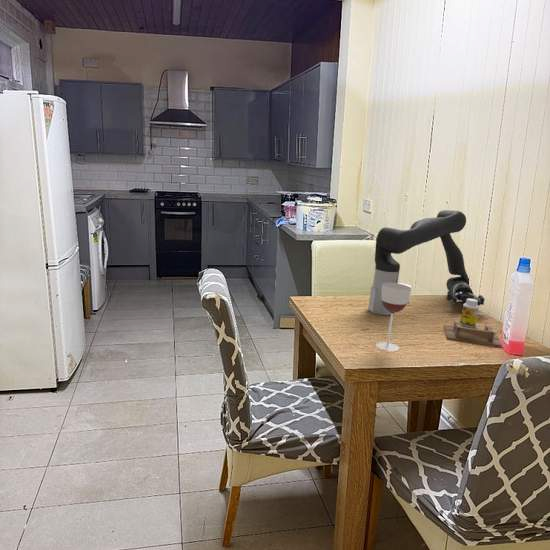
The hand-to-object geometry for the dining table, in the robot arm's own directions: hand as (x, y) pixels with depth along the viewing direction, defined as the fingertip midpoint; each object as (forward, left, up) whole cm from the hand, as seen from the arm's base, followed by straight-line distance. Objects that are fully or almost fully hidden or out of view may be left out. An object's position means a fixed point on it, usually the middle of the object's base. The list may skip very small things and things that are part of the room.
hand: (467, 302), depth 201 cm
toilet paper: (-20, +22, -7) cm, 31 cm away
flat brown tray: (-9, -24, -6) cm, 26 cm away
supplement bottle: (-4, -11, -6) cm, 13 cm away
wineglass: (-44, -37, -6) cm, 58 cm away
